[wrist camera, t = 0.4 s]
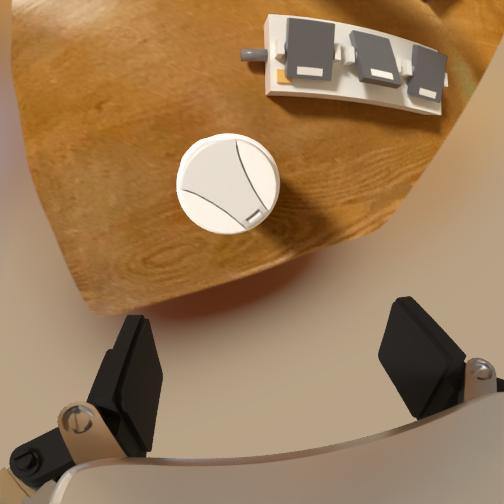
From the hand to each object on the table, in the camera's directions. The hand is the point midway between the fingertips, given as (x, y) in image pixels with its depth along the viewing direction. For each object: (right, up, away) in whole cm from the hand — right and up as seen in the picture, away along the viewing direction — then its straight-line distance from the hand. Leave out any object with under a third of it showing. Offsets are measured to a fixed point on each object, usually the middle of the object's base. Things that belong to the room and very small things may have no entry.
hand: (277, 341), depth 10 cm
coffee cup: (-4, +14, +25) cm, 29 cm away
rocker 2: (+21, +26, +16) cm, 37 cm away
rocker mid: (+13, +25, +16) cm, 33 cm away
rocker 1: (+5, +25, +15) cm, 30 cm away
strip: (+11, +27, +21) cm, 36 cm away
